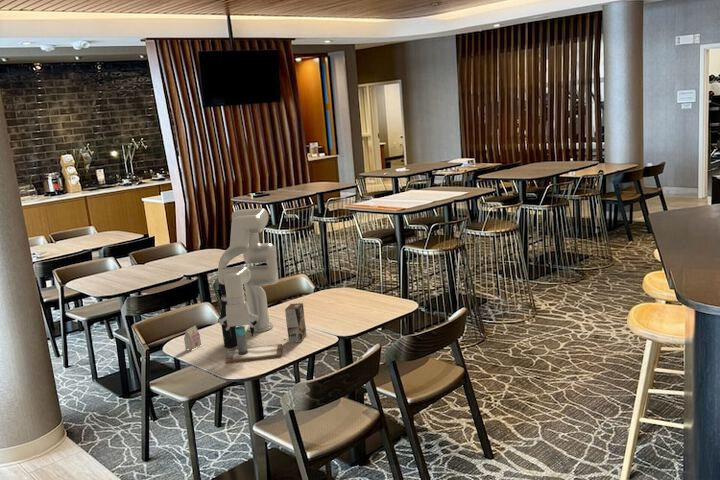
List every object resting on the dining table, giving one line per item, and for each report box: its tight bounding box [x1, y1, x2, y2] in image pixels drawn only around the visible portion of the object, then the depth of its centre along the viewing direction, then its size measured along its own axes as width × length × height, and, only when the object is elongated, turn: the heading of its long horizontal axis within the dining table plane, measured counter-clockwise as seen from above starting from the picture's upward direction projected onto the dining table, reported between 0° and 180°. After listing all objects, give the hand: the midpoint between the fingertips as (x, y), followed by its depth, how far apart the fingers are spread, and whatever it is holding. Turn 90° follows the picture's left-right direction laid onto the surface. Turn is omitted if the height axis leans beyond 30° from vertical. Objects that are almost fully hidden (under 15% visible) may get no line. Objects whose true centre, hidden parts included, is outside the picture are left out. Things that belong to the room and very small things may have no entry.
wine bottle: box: [218, 282, 238, 349], centre depth 307 cm, size 6×6×30 cm
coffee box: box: [284, 302, 308, 343], centre depth 309 cm, size 9×6×16 cm
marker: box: [235, 325, 248, 355], centre depth 294 cm, size 4×4×12 cm
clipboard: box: [225, 343, 283, 364], centre depth 296 cm, size 14×24×2 cm, turn 94°
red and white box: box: [183, 325, 202, 350], centre depth 311 cm, size 4×7×10 cm, turn 155°
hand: (241, 336), depth 295 cm, fingers open, 9 cm apart
